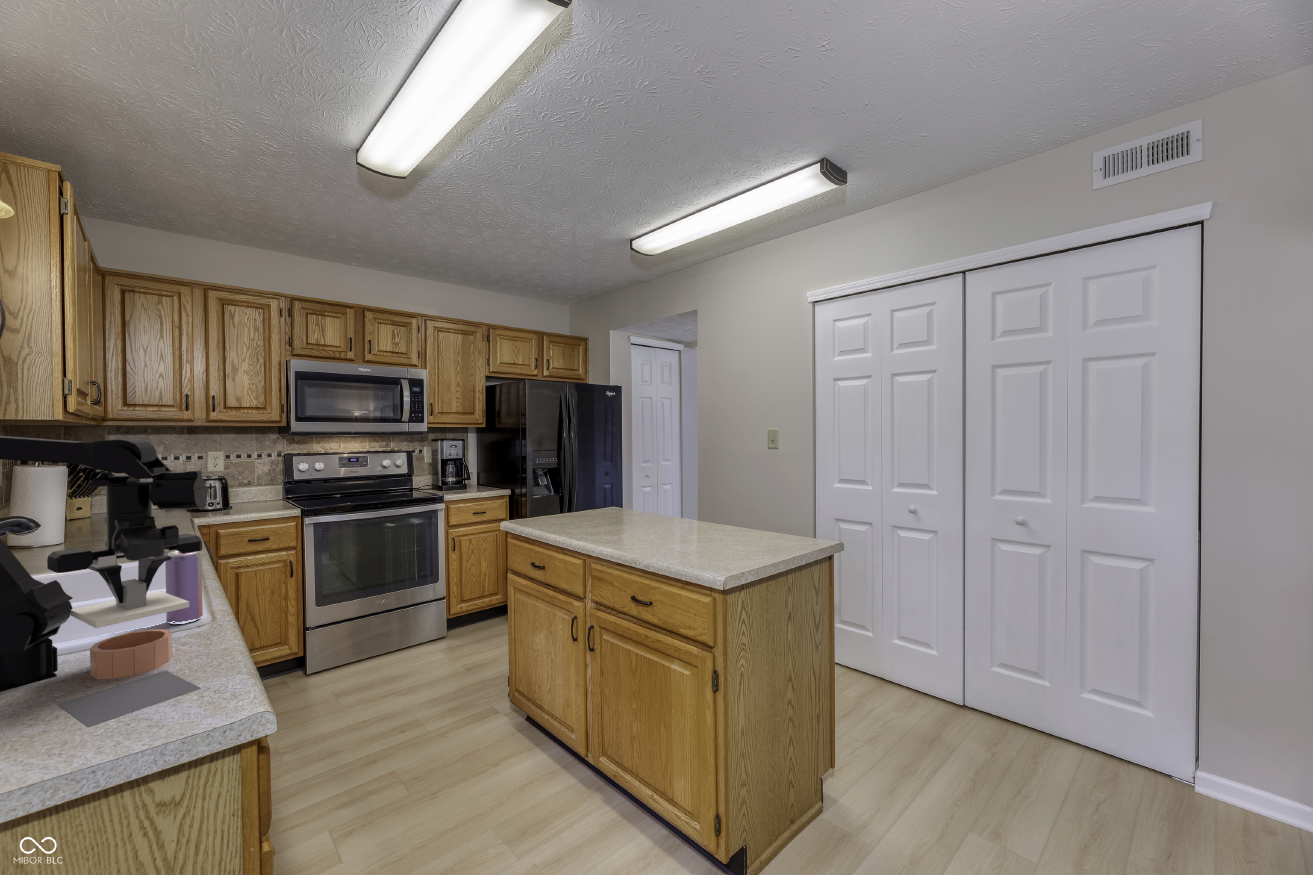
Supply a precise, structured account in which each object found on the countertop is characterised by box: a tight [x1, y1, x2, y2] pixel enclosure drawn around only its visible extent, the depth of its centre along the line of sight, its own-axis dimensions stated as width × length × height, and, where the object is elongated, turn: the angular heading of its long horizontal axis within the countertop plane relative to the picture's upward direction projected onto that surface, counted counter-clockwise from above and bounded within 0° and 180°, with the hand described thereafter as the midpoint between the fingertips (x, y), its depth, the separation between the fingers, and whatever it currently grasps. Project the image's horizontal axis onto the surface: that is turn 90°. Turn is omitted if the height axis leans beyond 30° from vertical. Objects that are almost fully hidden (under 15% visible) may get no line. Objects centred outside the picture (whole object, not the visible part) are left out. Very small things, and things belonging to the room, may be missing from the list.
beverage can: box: [164, 550, 204, 624], centre depth 119 cm, size 6×6×15 cm
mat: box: [56, 670, 202, 728], centre depth 85 cm, size 13×13×1 cm
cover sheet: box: [70, 578, 189, 629], centre depth 96 cm, size 12×12×5 cm
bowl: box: [89, 628, 173, 680], centre depth 96 cm, size 10×10×5 cm
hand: (131, 600), depth 96 cm, fingers closed on cover sheet, 2 cm apart
